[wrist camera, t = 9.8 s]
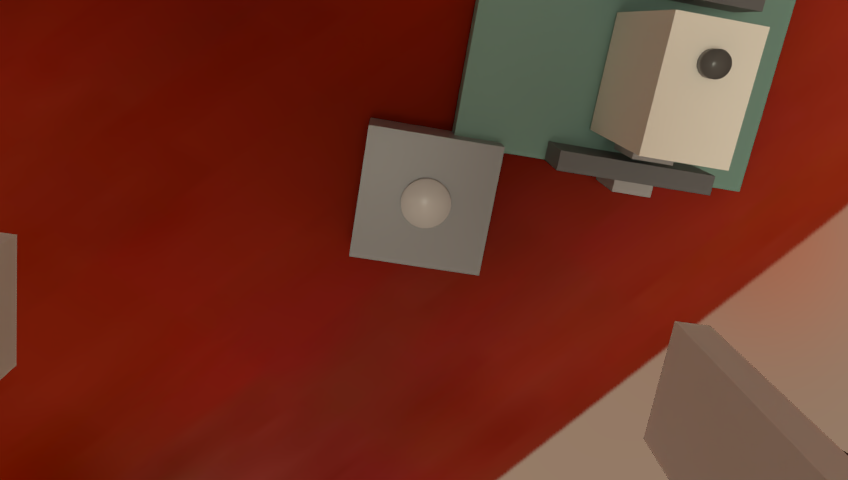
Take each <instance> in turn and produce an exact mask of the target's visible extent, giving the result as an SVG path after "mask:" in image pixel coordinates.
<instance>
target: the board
mask: <svg viewBox="0 0 848 480" xmlns="http://www.w3.org/2000/svg"><path fill="white" fill-rule="evenodd" d="M795 1H796V0H476V2H475V8H474V13H473V19H472V24H471V30H470V35H469V41H468V46H467V52H466V57H465V63H464V68H463V74H462V79H461V85H460V90H459V96H458V101H457V107H456V112H455V118H454V123H453V129H452V132H453V134H454V135H457V136H463V137H469V138H475V139H481V140H487V141H493V142H499V143H501V144H502V145H503V146H504V147H505V149H504V153H508V154H514V155H520V156H526V157H532V158H538V159H544V160H546V161H547V162H548V163H549V164H550V165H551V166H552V167H553V168H555V169H556V170H558V171H564V172H570V173H576V174H582V175H589V176H595V177H596V180H598V181H599V182H600V183H602V184H603V185H604V186H605V187H607V188H608V189H609V190H611V191H612V192H619V193H625V194H631V195H637V196H643V197H649V198H650V196H651V192H652V189H653V186H656V187H662V188H668V189H674V190H680V191H686V192H692V193H698V194H704V195H710V194H711V190H712V187H714V188H720V189H726V190H732V191H738V192H739V191H740V188H741V184H742V181H743V178H744V174H745V171H746V167H747V164H748V161H749V157H750V154H751V151H752V147H753V144H754V140H755V137H756V134H757V130H758V127H759V123H760V120H761V117H762V113H763V110H764V106H765V103H766V100H767V96H768V93H769V90H770V86H771V83H772V79H773V76H774V73H775V69H776V66H777V62H778V59H779V56H780V52H781V49H782V45H783V42H784V39H785V35H786V32H787V28H788V25H789V22H790V18H791V15H792V12H793V8H794V5H795ZM655 10H682V11H687V12H692V13H698V14H703V15H708V16H714V17H719V18H724V19H730V20H735V21H740V22H746V23H751V24H756V25H762V26H767V27H770V29H769V33H768V36H767V39H766V43H765V46H764V50H763V53H762V57H761V60H760V64H759V67H758V71H757V74H756V78H755V81H754V84H753V88H752V91H751V95H750V98H749V102H748V105H747V109H746V112H745V116H744V119H743V123H742V126H741V129H740V133H739V136H738V140H737V143H736V147H735V150H734V154H733V157H732V161H731V164H730V168H729V171H726V170H720V169H714V168H709V167H703V166H697V165H691V164H685V163H679V162H673V166H672V165H666V164H660V163H654V162H648V161H642V160H636V159H631V158H630V157H628V156H626V155H624V154H623V153H621V152H619V151H617V150H615V149H614V146H615V143H614V142H612V141H610V140H608V139H607V138H605V137H603V136H601V135H599V134H597V133H595V132H593V131H592V130H590V127H591V123H592V119H593V115H594V110H595V106H596V102H597V97H598V93H599V89H600V85H601V80H602V76H603V72H604V67H605V63H606V59H607V55H608V50H609V46H610V42H611V37H612V33H613V29H614V25H615V20H616V16H617V12H633V11H655Z"/></svg>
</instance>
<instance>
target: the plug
mask: <svg viewBox="0 0 848 480" xmlns="http://www.w3.org/2000/svg"><path fill="white" fill-rule="evenodd" d="M769 29H770V27H767V26H762V25H756V24H751V23H746V22H740V21H735V20H730V19H724V18H719V17H714V16H708V15H703V14H698V13H692V12H687V11H682V10H655V11H633V12H617V16H616V20H615V25H614V29H613V33H612V37H611V42H610V46H609V50H608V55H607V59H606V63H605V67H604V72H603V76H602V80H601V85H600V89H599V93H598V97H597V102H596V106H595V110H594V115H593V119H592V123H591V127H590V130H592V131H593V132H595V133H597V134H599V135H601V136H603V137H605V138H607V139H608V140H610V141H612V142H614V143H615V146H614V149H615V150H617V151H619V152H621V153H623V154H624V155H626V156H628V157H630V158H631V159H636V160H642V161H648V162H654V163H660V164H666V165H672V166H673V162H679V163H685V164H691V165H697V166H703V167H709V168H714V169H720V170H726V171H729V168H730V164H731V161H732V157H733V154H734V150H735V147H736V143H737V140H738V136H739V133H740V129H741V126H742V123H743V119H744V116H745V112H746V109H747V105H748V102H749V98H750V95H751V91H752V88H753V84H754V81H755V78H756V74H757V71H758V67H759V64H760V60H761V57H762V53H763V50H764V46H765V43H766V39H767V36H768V33H769Z"/></svg>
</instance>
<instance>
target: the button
mask: <svg viewBox="0 0 848 480" xmlns="http://www.w3.org/2000/svg"><path fill="white" fill-rule="evenodd" d="M504 149H505V147H504V146H503V145H502V144H501V143H499V142H493V141H487V140H481V139H475V138H469V137H463V136H457V135H454V134H453V132H452V131H449V130H443V129H437V128H431V127H425V126H419V125H413V124H407V123H401V122H395V121H389V120H383V119H377V118H371V117H370V122H369V127H368V134H367V140H366V147H365V154H364V160H363V167H362V174H361V180H360V187H359V193H358V200H357V207H356V213H355V220H354V227H353V233H352V240H351V247H350V253H349V256H351V257H358V258H365V259H371V260H378V261H385V262H391V263H398V264H405V265H411V266H418V267H425V268H431V269H438V270H445V271H451V272H458V273H465V274H472V275H478V276H479V273H480V268H481V263H482V258H483V253H484V248H485V243H486V238H487V233H488V228H489V223H490V218H491V213H492V208H493V204H494V199H495V194H496V189H497V184H498V179H499V174H500V169H501V164H502V159H503V154H504Z"/></svg>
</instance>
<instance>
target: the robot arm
mask: <svg viewBox="0 0 848 480" xmlns="http://www.w3.org/2000/svg"><path fill="white" fill-rule="evenodd" d="M16 311H17V235H15V234H8V233H0V380H1V379H2V378H3V377H4V376H5V375H6V374H7V373H8V372H9V371H10V370H12V369H13V368H14V367H15V366H16ZM644 440H645V442H646V443H647V445H648V446H649V448H650V450H651V451H652V453H653V455H654V456H655V458H656V459H657V461H658V463H659V464H660V466H661V468H662V469H663V471H664V473H665V474H666V476H667V478H668V479H669V480H848V453H846V452H845V451H843V450H841V449H840V448H839V447H838V446H837V445H836V444H835V443H834V442H833V441H832V440H831V439H829V438H828V436H826V435H825V434H824V433H823V432H822V431H821V430H820V429H819V428H818V427H817V426H816V425H815V424H814V423H813V422H812V421H811V420H810V419H808V418H807V417H806V416H805V415H804V414H803V413H802V412H801V411H800V410H799V409H798V408H797V407H796V406H795V405H794V404H793V403H792V402H790V401H789V400H788V399H787V398H786V397H785V396H784V395H783V394H782V393H781V392H780V391H779V390H778V389H777V388H776V387H775V386H774V385H772V384H771V383H770V382H769V381H768V380H767V379H766V378H765V377H764V376H763V375H762V374H761V373H760V372H759V371H758V370H757V369H756V368H754V367H753V366H752V365H751V364H750V363H749V362H748V361H747V360H746V359H745V358H744V357H743V356H742V355H741V354H740V353H738V352H737V351H736V350H735V349H734V348H733V347H732V346H731V345H730V344H729V343H728V342H727V341H726V340H725V339H724V338H723V337H721V336H720V335H719V334H718V333H717V332H716V331H715V330H714V329H713V328H712V327H711V326H706V325H699V324H692V323H684V322H677V321H675V323H674V327H673V331H672V334H671V338H670V342H669V346H668V349H667V353H666V357H665V361H664V364H663V368H662V372H661V376H660V379H659V383H658V387H657V390H656V394H655V398H654V402H653V406H652V409H651V413H650V417H649V420H648V424H647V429H646V432H645V436H644Z"/></svg>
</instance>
